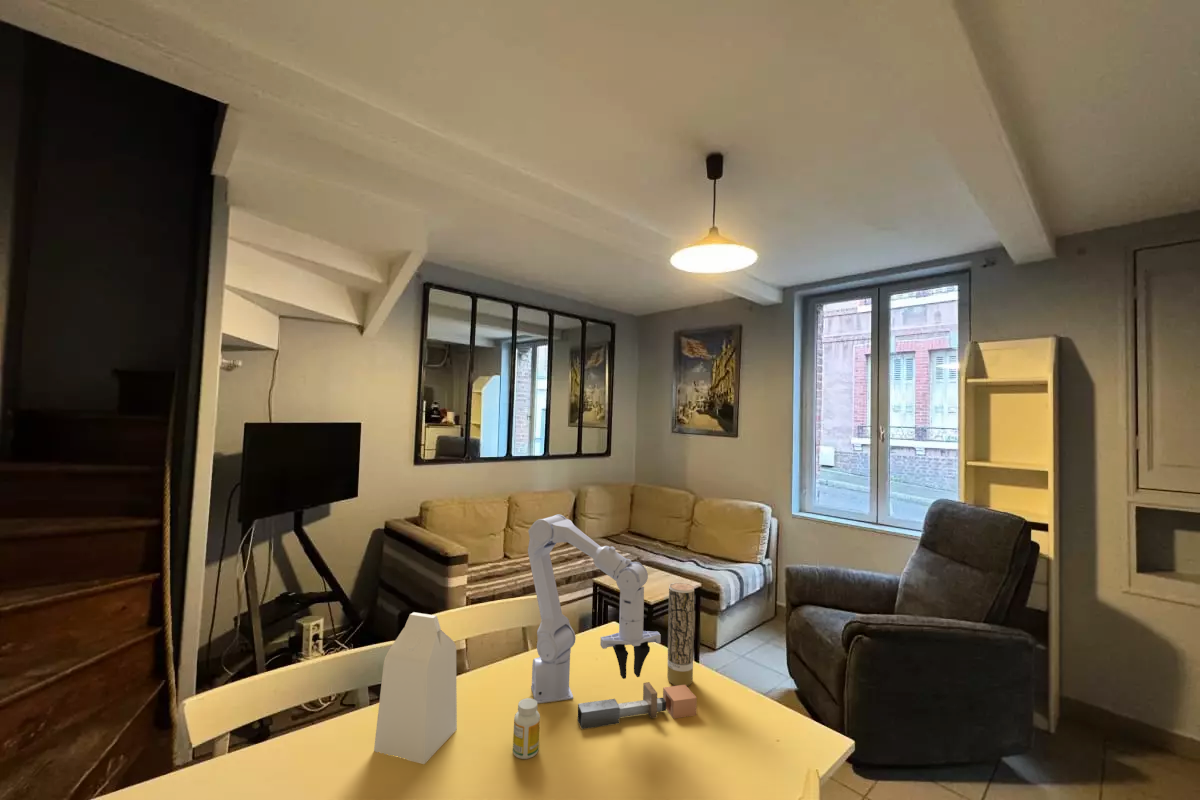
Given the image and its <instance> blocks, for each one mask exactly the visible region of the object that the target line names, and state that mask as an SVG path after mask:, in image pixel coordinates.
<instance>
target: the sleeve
mask: <svg viewBox="0 0 1200 800" xmlns="http://www.w3.org/2000/svg"><path fill="white" fill-rule="evenodd" d="M618 704H619V703H618V701H617V700H616V698H609V699H603V700H596V701H595V700H594V701H590V702H589V701H588V702H581V703H577V722H578V725H579V727H580V729H581V730H586V729H593V728H594V729H595V728H600V727H605V726H611V725H618V724H620V719H621V718H620V707H619V705H618Z"/></svg>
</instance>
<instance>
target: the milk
mask: <svg viewBox="0 0 1200 800" xmlns="http://www.w3.org/2000/svg"><path fill="white" fill-rule="evenodd" d="M408 615H409V616H408V618H407V620H406V623H405V625H404V627H403V628H402V630H401V631H400V633H399V634H398V636H397V637H396V638H395V640H394V642H393V643H392V645H391V646H390V648H389V650H388V651H387V653H386V655H385V657H384V661H383V666H382V677H381V686H380V694H379V701H378V702H379V703H378V710H377V711H378V712H377V713H378V714H377V721H376V730H375V737H374V748H373V752H374V751H375V752H374V753H378V752H380V753H379V754H382V753H384V754H383V755H386V754H388V755H387V756H390V755H394V756H398V757H401V758H405V759H407V760H406V761H410V762H414V763H418V764H422V765H425V764H426V763H427V762H428V761H429V760H430V759H431V758H432V757H433V755H435V754H436V753H437V751H438V750H440V749H441V747H442V746H443V745H444V744H445V743H446V742H447V740H449V739H450V737H451V736H452V735H453V734H454V733H456V731H457V729H458V728H457V727H458V725H457V722H458V720H457V717H458V715H457V711H458V709H457V707H458V706H457V703H458V702H457V700H458V699H457V646H456V643H455V641H454V640H453V639H452V638H451V637H450V636H448V634H447V633H446V632H444V631H443V630H442V628H441V624H440V621H439V619H438V616H437V615H433V614H428V613H421V612H415V611H413V612H412V613H409V614H408ZM401 758H400V759H401ZM405 759H404V760H405Z"/></svg>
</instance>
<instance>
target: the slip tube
mask: <svg viewBox="0 0 1200 800" xmlns="http://www.w3.org/2000/svg"><path fill="white" fill-rule="evenodd" d="M642 690H643V693H642V700H636V701H635V700H634V701H630V702H629V701H628V702H621V703H618V705H619V707H620V718H619V719H621V718H627V717H632V716H633V717H634V716H639V715H640V716H641V715H645V714H646V715H648V717H649V718H650V719H655V718H658V713H660V712H666V711H667V709H666V701H665V700H664V698H663V697H658V692H657V691H656V689H655V688H654V686H653V685H652V684H651V683H650V682H649V681H648V682H646V681H645V682H643V689H642Z"/></svg>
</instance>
